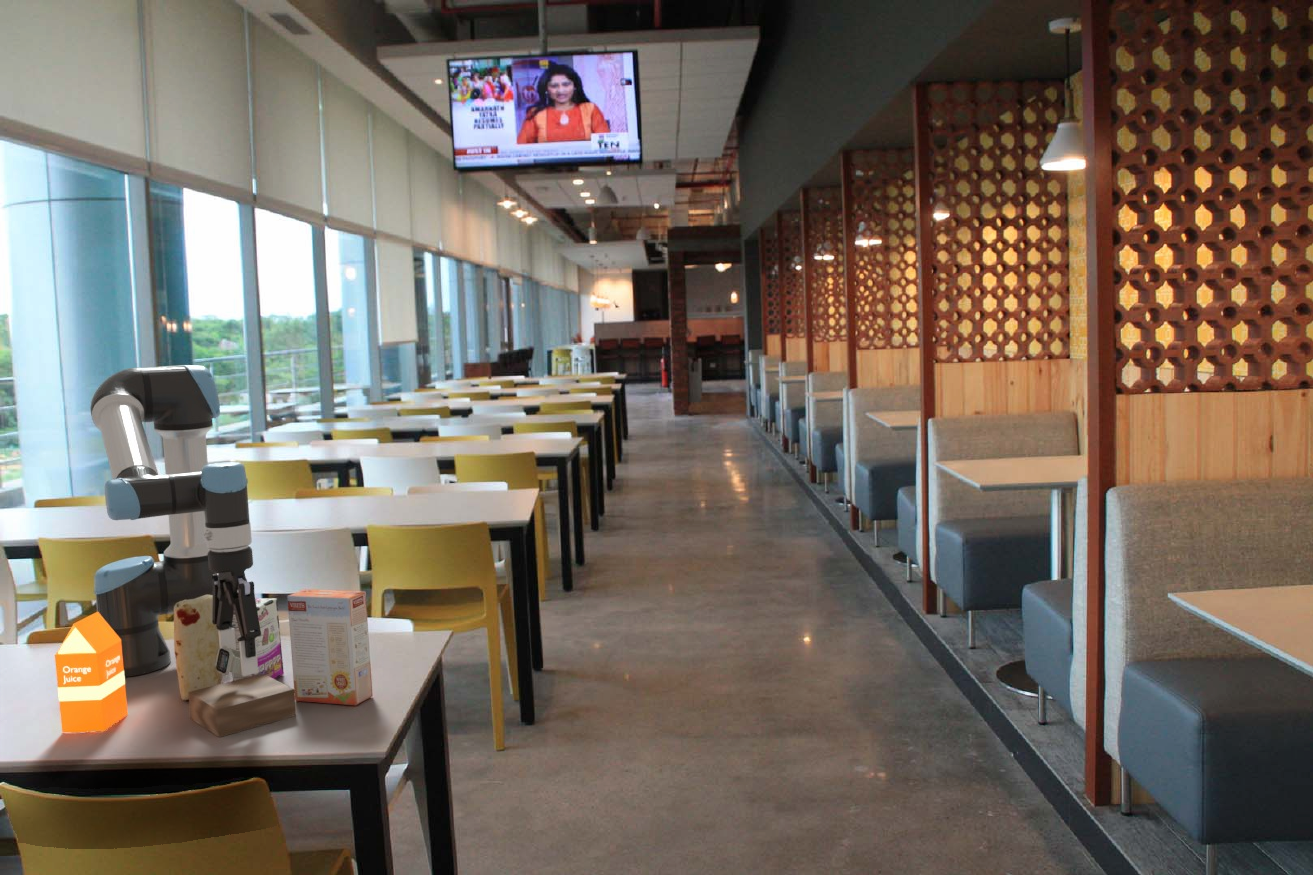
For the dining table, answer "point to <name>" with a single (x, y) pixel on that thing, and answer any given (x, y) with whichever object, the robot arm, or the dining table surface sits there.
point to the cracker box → (330, 646)
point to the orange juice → (91, 677)
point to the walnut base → (241, 704)
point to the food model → (195, 645)
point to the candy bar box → (265, 640)
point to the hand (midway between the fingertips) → (239, 668)
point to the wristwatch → (228, 661)
